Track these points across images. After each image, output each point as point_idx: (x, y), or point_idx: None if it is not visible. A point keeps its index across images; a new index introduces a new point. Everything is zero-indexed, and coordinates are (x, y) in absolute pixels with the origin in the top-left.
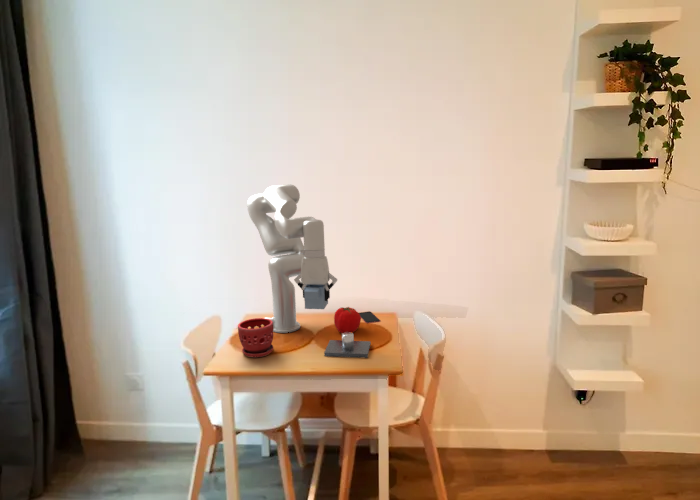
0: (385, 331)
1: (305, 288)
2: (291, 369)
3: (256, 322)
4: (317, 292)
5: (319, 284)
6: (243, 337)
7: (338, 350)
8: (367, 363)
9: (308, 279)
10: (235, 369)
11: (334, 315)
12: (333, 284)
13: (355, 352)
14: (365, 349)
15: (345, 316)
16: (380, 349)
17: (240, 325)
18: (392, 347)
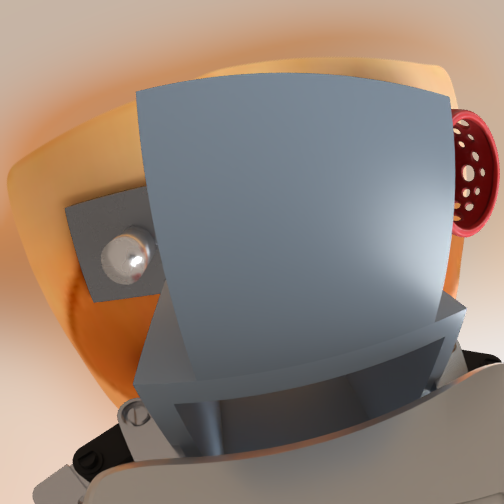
0: (110, 379)
1: (447, 309)
2: (272, 62)
3: (468, 224)
4: (143, 109)
5: (231, 457)
6: (462, 175)
7: None
8: (60, 170)
9: (484, 451)
10: (410, 63)
11: None
12: (77, 465)
13: (98, 208)
14: (80, 240)
15: None
16: (64, 274)
17: (494, 166)
18: (47, 293)
